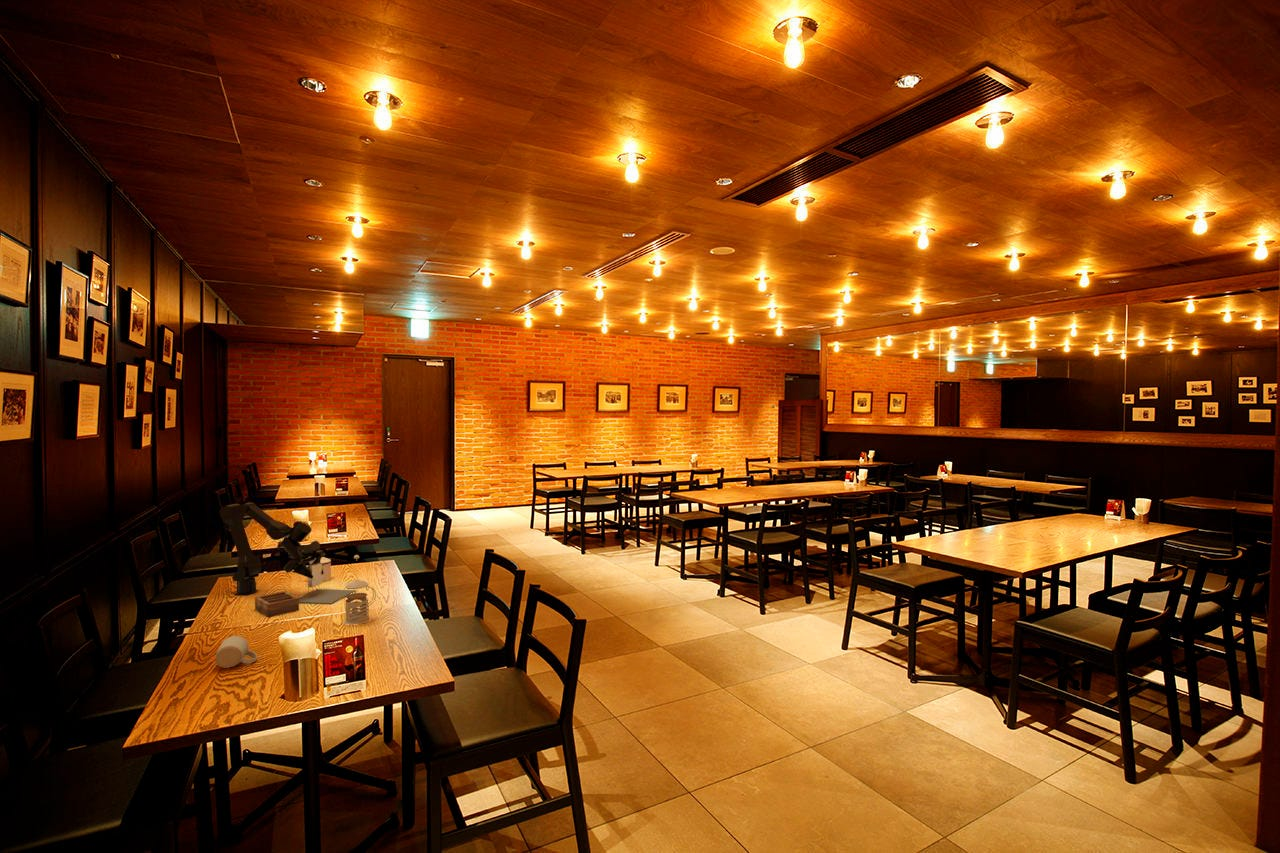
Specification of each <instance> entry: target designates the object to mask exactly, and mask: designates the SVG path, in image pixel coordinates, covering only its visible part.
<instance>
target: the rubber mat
mask: <svg viewBox="0 0 1280 853" xmlns="http://www.w3.org/2000/svg"><path fill="white" fill-rule="evenodd" d="M355 591H356V592H357V589H327V588H326V589H324V588H323V589H322V588H315V589H314V590H312V591H310V592H308V593H306V594H303V595H300V597H298V598H299V604H304V605H305V604H307V605H309V604H310V605H333V604H335V603H337V602H339V601H341V600H343V599H344V597H345V598H347V597H346V596H348V595H349V594H351V593H353V592H354V593H356V592H355ZM354 593H353V594H354ZM342 598H343V599H342ZM340 599H341V600H340Z"/></svg>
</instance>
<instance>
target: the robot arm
mask: <svg viewBox="0 0 1280 853" xmlns="http://www.w3.org/2000/svg"><path fill="white" fill-rule="evenodd" d="M245 515H247V516H248V517H250V518H251V519H252V520H254V522H256V523H257V524H258V525H259V526H261V527H263V528H264V529H265V531H266V535H268V536H269V538H270V539H271V540H273V541H278V542H277V547H276V548H277V549H282V548H283V549H284V550H285V551H286V552H287V553H288V555H287V557H288V559H290V560H289V561H288V562H287V563H286V564H285V565H284V567H283V570H284V572H285V573H286V574H288V573H295V574H297V575H301V576H304V577H305V578H307V579H308V578H311V579H312V578H313V575H312V574H311V572H310V571H309V569H308V567H306V566H307V563H310V564H311V565H312V564H315V563H321V562H320V560H321V558H322V557H325V555H326V553H325V551H324V550H321V549H320V547H321V543H320V542H319V541H318V540H314V541H312V542H310V543H309V544H307V545H306V544H302V543H301V542H303V541H304V540H305V538H306V537H308V536H309V534H310V533H311V532H312V528H311V526H310V525H309V524H306V523H303V522H302V521H300V520H299V521H297V522H296V523H295V525H293V527H292V526H290V525H288V524H287V523H285V522H282V521H279V520H276V519H275V518H273V517H271V516H270V515H269V514H267V513H266V512H265V511H264V510H262V509H261V508H260V507H258V506H257V504H256V503H255V502H247V503H243V504H240V503H233V504H227V505H224V506H221V509H220V510H219V516H220V518H221V519H222V521H223V523H225V524H226V525H227V526H229V530H230V534H231V536H232V540H233V542H234V543H233V544H234V545H235V549H236V553H237V556H238V561H237V565H236V566H237V571H236V572H235V573H233V575H232V576H231V577H232V580H233V582H236V592H234V593H233V595H234V594H235V596H238V595H239V596H249V595H251V594H254V593H256V592H258V591H259V589H257V581H256V578H258V577H259V576H260V573H261V570H262V568H263V567H262V565H263V563H262V561H261V557H260V556H259V555H257V556H256V555H255V554H254V553H253V551H252V549H251V546H250V542H249V539H248V536H247V533H246V530H245V526H244V520H245V519H244V518H245ZM279 540H280V541H279ZM316 550H317V551H316ZM314 551H315V552H314ZM310 564H309V565H310ZM323 573H324V572H323V569H322V574H323Z"/></svg>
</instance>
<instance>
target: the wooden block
mask: <svg viewBox="0 0 1280 853" xmlns="http://www.w3.org/2000/svg"><path fill="white" fill-rule="evenodd" d="M307 566H308V567H307V568H308V569H309V571H310V572H311V574H312V575H313V578H312V579H311V578H308V577H307V588H314V587H317V586H320V585H322V584H323V582H322V563H315V564H312V565H310V564H309V565H307Z"/></svg>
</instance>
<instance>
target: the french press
mask: <svg viewBox="0 0 1280 853" xmlns="http://www.w3.org/2000/svg"><path fill="white" fill-rule="evenodd" d="M353 559H354V560H355V559H356V560H358V559H360V555H358V554H355V555H354V556H353ZM344 587H345V588H346V590H359V589H364V588H365V590H366V591H368V589H369V588H370V589H371V591H372V598H371V601H370V602H369V598H368V597H367V596H368V594H367V593H365V592H354V593H353V594H351V595H350V594H349V595H348V596H347V597H346V600H345V619H344V620H343V622H342V624H343V623H344V624H349V625H354V624H361V625H363V624H362V623H365V622H367V621H369V620H370V618H371V617H370V618H369V616H370V615H369V612H370V611H369V610H370V608H369V607H370V606H371V605H372V604H374V602H375V600H376V597H377V596H376V590H375V588H373V587H372V586H370V585H369V582H368V581H365V580H360V579H359V580H358V579H356V580H352V581H350V582H348V583H347V584H345V585H344ZM369 622H370V621H369ZM344 624H343V625H344ZM365 624H366V623H365ZM354 626H355V625H354Z"/></svg>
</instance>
